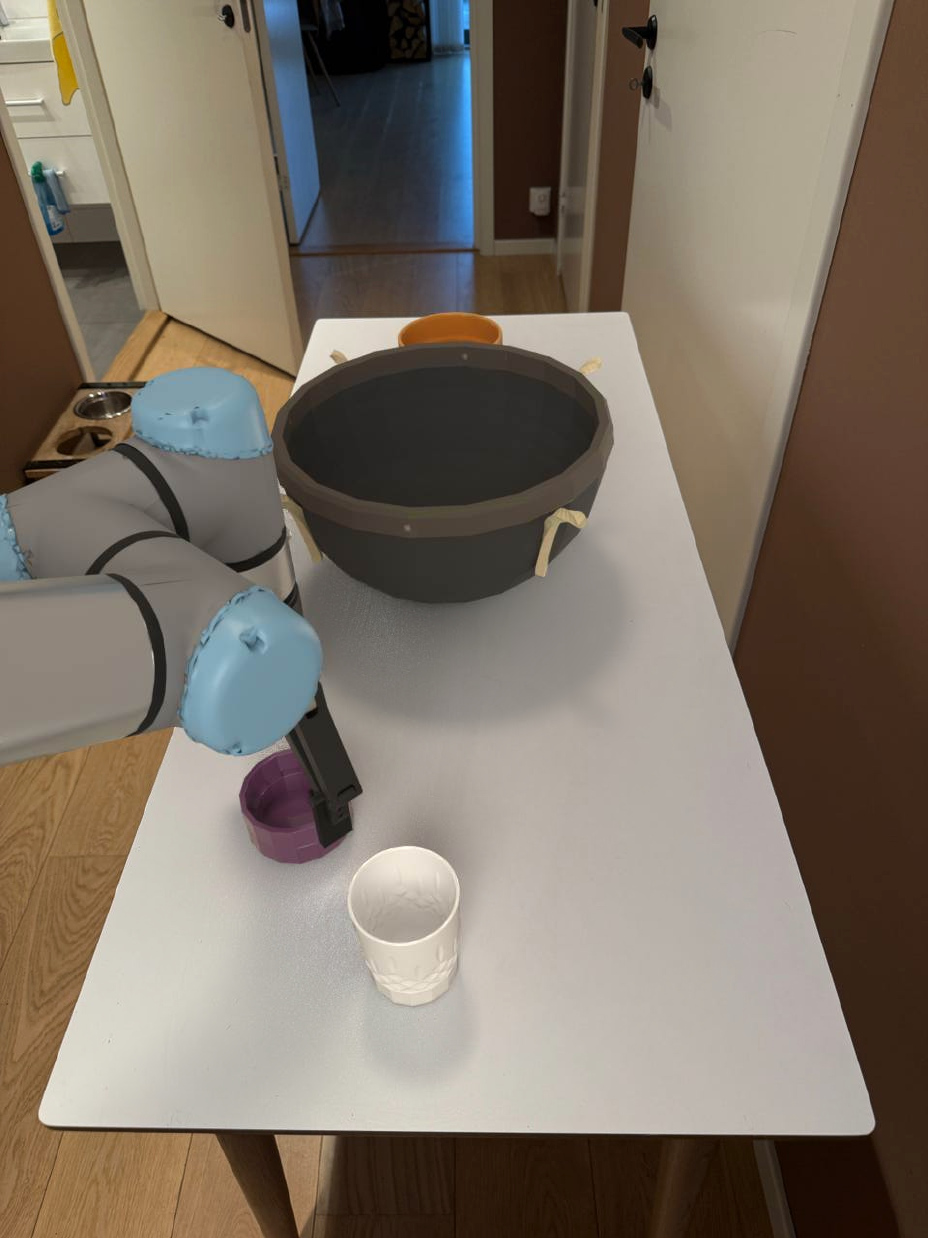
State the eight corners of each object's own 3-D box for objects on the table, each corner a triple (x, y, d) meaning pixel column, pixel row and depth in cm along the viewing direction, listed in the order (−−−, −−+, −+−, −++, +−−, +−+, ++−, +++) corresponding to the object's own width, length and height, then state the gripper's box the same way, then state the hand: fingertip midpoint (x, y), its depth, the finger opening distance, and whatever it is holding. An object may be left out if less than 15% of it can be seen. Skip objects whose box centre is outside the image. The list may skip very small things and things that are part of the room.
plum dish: (286, 887, 77) (275, 852, 73) (232, 820, 82) (220, 785, 79) (373, 826, 81) (367, 791, 78) (316, 767, 86) (308, 731, 83)
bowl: (341, 477, 123) (319, 334, 110) (609, 490, 118) (620, 342, 105) (257, 662, 97) (215, 505, 84) (597, 689, 92) (609, 526, 79)
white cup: (466, 1013, 68) (460, 943, 62) (359, 1016, 68) (342, 947, 62) (464, 916, 74) (458, 843, 67) (366, 920, 74) (351, 847, 68)
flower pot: (397, 443, 129) (388, 356, 120) (414, 394, 139) (407, 310, 131) (498, 446, 127) (496, 358, 119) (507, 396, 138) (507, 312, 129)
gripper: (395, 657, 58) (417, 855, 72) (204, 496, 73) (253, 686, 87) (294, 716, 55) (337, 912, 69) (115, 534, 69) (181, 726, 83)
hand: (290, 786), depth 78 cm, fingers open, 13 cm apart
